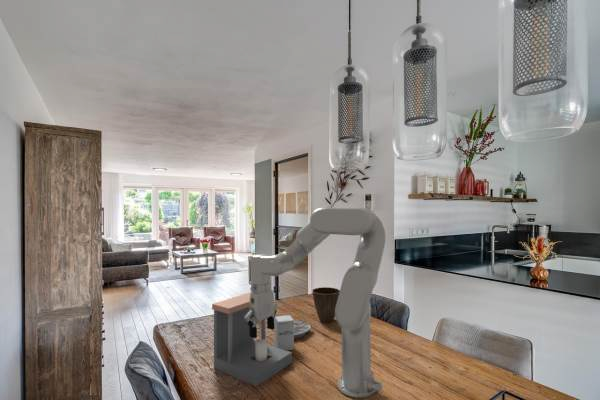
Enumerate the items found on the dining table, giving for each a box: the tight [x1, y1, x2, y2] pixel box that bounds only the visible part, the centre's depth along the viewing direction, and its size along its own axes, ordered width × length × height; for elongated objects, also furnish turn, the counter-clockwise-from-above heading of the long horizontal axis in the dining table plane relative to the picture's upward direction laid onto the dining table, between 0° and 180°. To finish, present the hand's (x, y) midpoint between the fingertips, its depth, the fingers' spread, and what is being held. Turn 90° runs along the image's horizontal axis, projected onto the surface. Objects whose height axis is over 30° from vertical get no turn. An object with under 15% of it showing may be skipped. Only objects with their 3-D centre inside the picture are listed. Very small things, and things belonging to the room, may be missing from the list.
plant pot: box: [311, 286, 340, 324], centre depth 168 cm, size 15×15×16 cm
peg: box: [255, 338, 268, 363], centre depth 118 cm, size 4×4×10 cm
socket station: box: [211, 291, 293, 387], centre depth 120 cm, size 22×21×24 cm
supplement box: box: [273, 315, 295, 351], centre depth 136 cm, size 7×7×13 cm
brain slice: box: [294, 320, 312, 340], centre depth 152 cm, size 20×17×3 cm
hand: (262, 332), depth 118 cm, fingers open, 9 cm apart
